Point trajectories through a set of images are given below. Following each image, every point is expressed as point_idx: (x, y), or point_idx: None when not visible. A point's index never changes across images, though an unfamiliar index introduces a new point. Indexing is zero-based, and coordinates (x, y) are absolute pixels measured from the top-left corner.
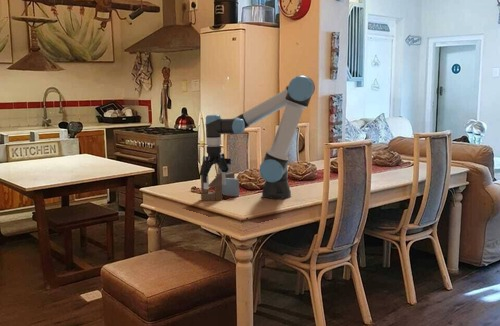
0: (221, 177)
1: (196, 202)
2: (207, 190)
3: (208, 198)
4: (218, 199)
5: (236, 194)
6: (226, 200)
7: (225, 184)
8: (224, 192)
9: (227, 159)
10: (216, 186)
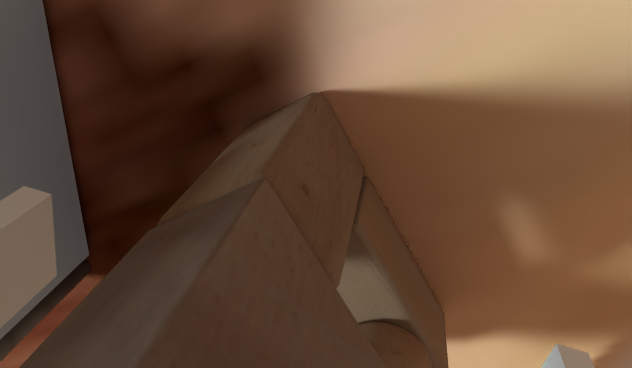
0: (178, 336)
1: (544, 334)
2: (391, 354)
3: (407, 260)
4: (346, 138)
5: None
6: (315, 18)
7: (31, 190)
8: (50, 183)
9: None
10: (327, 275)
